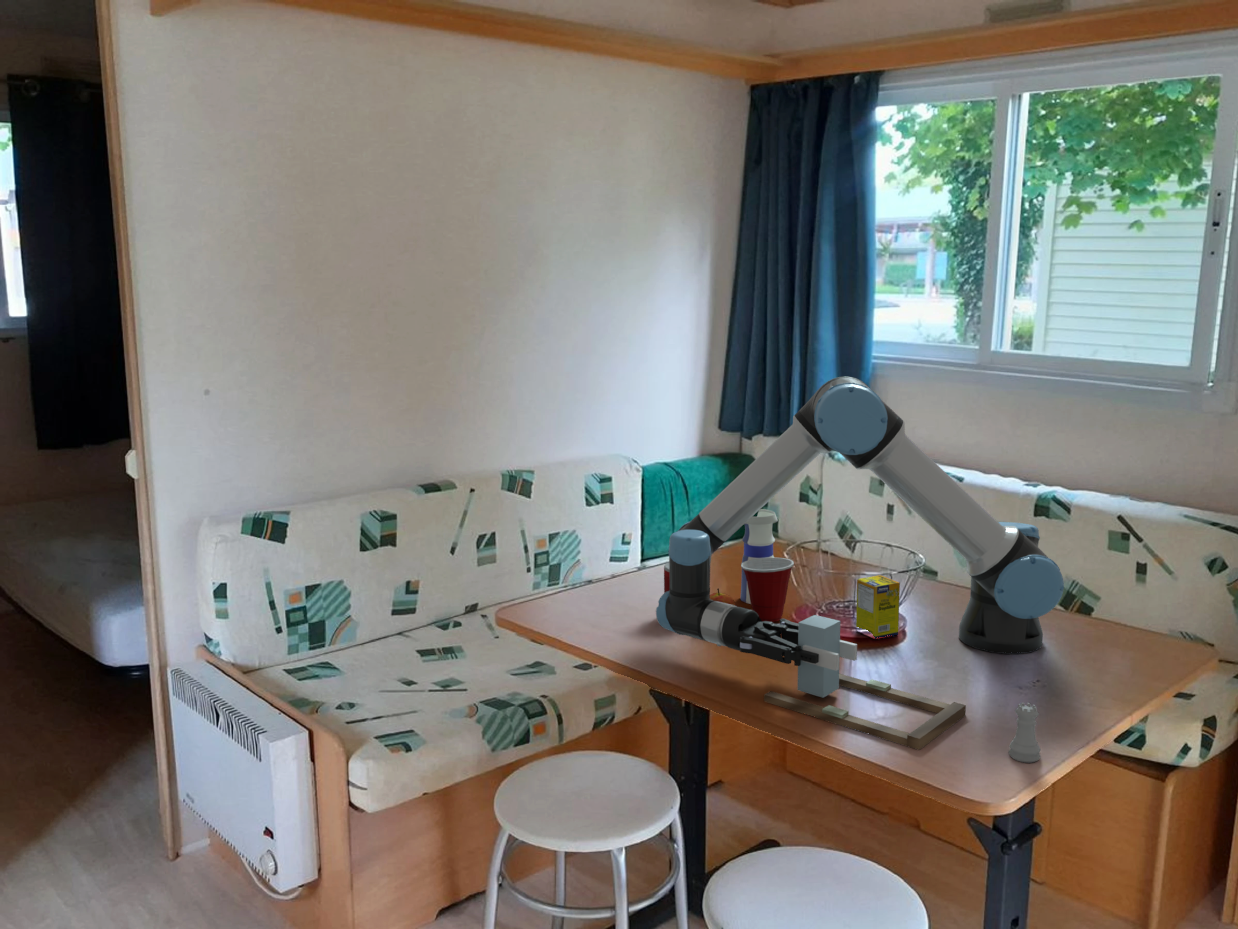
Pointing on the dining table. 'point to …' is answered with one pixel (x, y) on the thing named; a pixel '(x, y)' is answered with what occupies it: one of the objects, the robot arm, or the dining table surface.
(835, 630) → the blue-grey tall rectangular block
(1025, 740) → the rook chess piece
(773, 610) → the plastic cup
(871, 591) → the supplement box
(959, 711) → the brown u-shaped frame
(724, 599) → the fruit
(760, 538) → the water bottle
